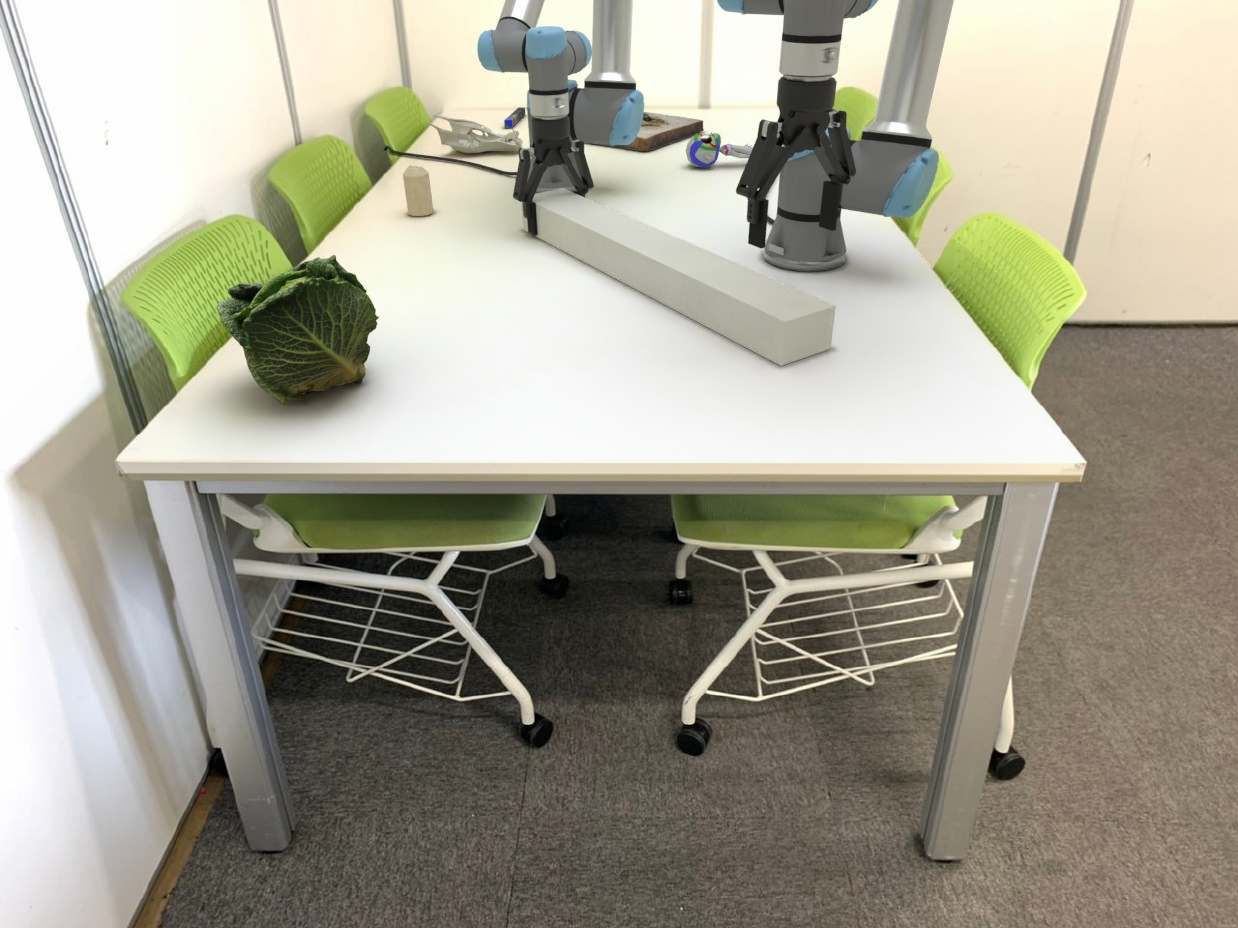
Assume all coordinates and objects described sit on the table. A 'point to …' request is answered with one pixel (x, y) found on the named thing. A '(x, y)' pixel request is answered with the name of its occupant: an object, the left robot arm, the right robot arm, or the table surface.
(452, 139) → the anatomical model
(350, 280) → the vegetable
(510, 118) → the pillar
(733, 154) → the toy
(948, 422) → the table surface
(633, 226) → the light grey rectangular bar
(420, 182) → the candle
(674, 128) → the plaque
